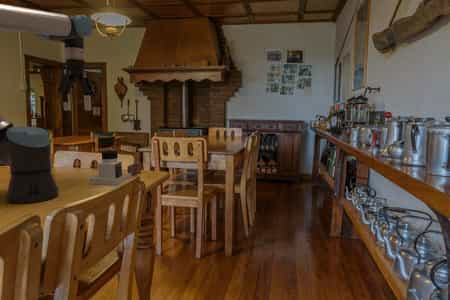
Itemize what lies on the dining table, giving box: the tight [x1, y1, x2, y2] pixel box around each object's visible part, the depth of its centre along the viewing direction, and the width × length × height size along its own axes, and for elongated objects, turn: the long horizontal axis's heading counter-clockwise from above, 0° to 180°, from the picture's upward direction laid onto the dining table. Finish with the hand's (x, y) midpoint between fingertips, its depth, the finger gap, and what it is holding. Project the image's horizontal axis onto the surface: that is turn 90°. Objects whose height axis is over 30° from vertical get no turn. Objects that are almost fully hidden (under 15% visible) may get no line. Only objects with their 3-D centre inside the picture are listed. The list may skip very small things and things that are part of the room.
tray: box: [88, 172, 132, 186], centre depth 133 cm, size 12×12×2 cm
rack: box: [127, 161, 142, 178], centre depth 146 cm, size 10×12×5 cm
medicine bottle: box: [97, 149, 123, 179], centre depth 132 cm, size 7×7×12 cm
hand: (78, 110), depth 139 cm, fingers open, 13 cm apart
